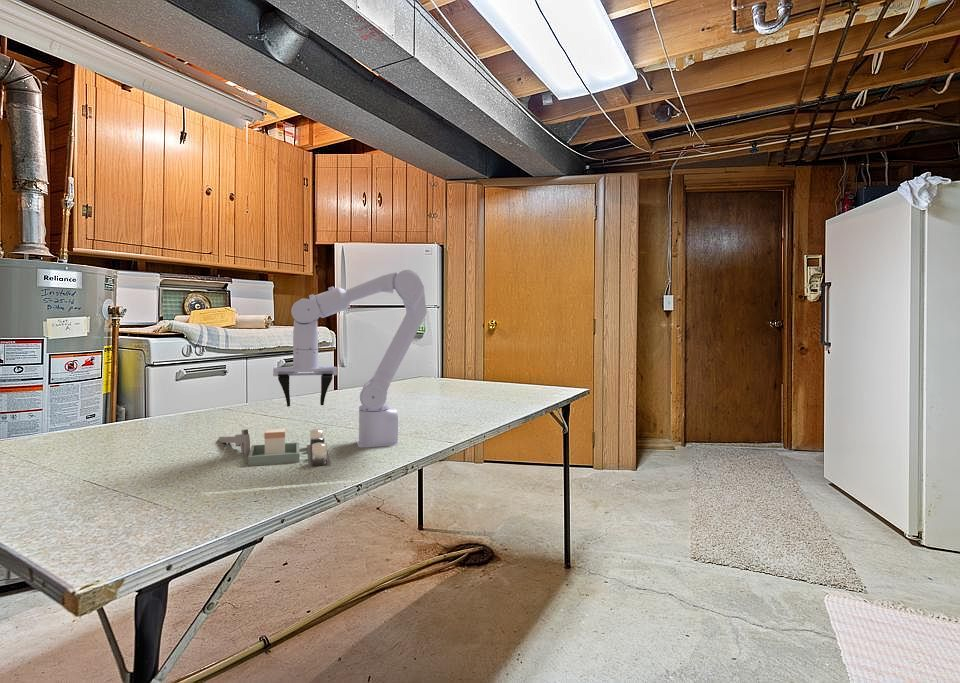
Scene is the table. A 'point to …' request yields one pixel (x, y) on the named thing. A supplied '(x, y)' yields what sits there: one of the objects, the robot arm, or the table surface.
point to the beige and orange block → (274, 441)
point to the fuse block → (317, 449)
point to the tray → (260, 458)
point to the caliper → (238, 441)
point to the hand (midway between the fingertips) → (305, 405)
